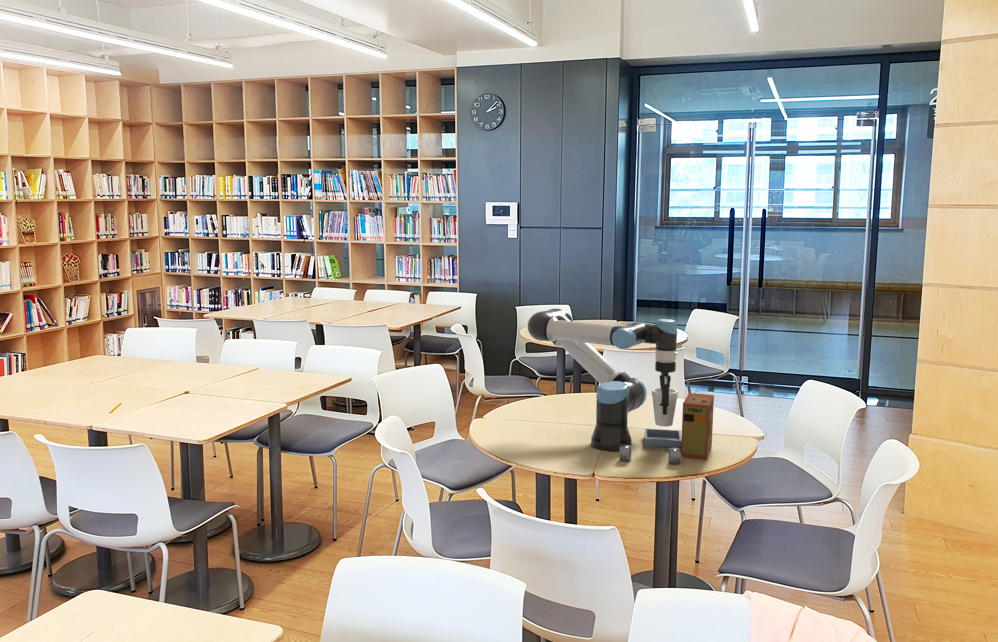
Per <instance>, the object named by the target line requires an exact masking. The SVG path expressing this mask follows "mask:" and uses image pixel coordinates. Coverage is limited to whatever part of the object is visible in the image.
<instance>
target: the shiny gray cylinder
mask: <svg viewBox="0 0 998 642" xmlns="http://www.w3.org/2000/svg"><path fill="white" fill-rule="evenodd" d="M668 464H669V465H673V466H679V465H681V449H679V448H669V449H668Z"/></svg>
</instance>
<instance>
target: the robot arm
mask: <svg viewBox="0 0 998 642" xmlns="http://www.w3.org/2000/svg"><path fill="white" fill-rule="evenodd" d="M527 332H528V334H529V335H530V337H532V338H533V339H534V340H536V341H539V342H541V341H543V342H551V343H552V344H553V345H554V346H555V347H557V348H559V347H562V349H564V350H565V351H566V352H567V353H568V355H570V356H571V357H572V358H573V359H574V360H575V361H576V362H577V363H578V364H579V365H580V366H582V368H583V369H584V370H585V371H587V372H588V373H589V374H590V375H591V377H593V378H594V379H595V380H596V381H597V382H598V383H599V385H598V386H597V389H596V395H595V397H596V407H595V409H596V411H595V412H596V413H595V415H596V418H595V419H596V420H595V421H596V422H595V423H596V424H595V427H594V429H593V432H592V435H591V438H590V445H591V446H592V447H593V448H595V449H597V450H601V451H607V452H609V451H610V452H620V446H621V445H629V446H631V447H632V436H631V434H630V430H629V427H628V419H629V418H628V416H629V413H631V412H632V411H634V410H637V409H638V408H640V407H641V406H643V405H644V403H645V401H646V399H647V394H648V393H647V388H646V386H645V384H644V383H643V381H642V380H640V379H639V378H635V377H631V376H630V375H629V374H628V373H626V371H624V370H623V371H621V370H620V371H619V370H618V369H617V368H616V367H615V366H614V365H613V364H612V363H611V362H610V361H608V360H607V358H606V357H604V356H603V355H602V354H601V353H600V352H599V351H598V350H597V349H596V348H595V347H593V345H591V344H595V345H603V346H612V347H616V348H617V349H621V350H625V349H626V350H627V349H630V348H632V347H635V346H637V345H640V344H649V345H650V344H651V345H655V358H654V359H655V367H654V368H655V369H654V370H655V372H658V373H660V374H659V384H660V387H659V388H661V391H662V403H661V404H660V406H661V423H668V408H669V388H670V389H671V379H672V378H671V377H672V376H671V375H670V374H669V373H675V372H676V370H677V369H676V368H677V367H676V366H677V362H676V359H677V355H678V354H679V353H678V352H677V341H678V339H677V338H678V323H677V320H675V319H670V318H669V319H668V318H661V319H657V321H656V323H647V322H646V323H645V322H639V321H634V322H632V321H629V322H628V323H627V324H626V325H625V326H619V325H610V324H602V323H601V324H599V323H589V322H580V321H574V319H573V317H572V315H571V314H570V312H568V311H567V310H565V309H563V308H551V309H547V310H543V311H538V312H535V313H534V314H532V315H531V316H530V318H529V320H527Z"/></svg>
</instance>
